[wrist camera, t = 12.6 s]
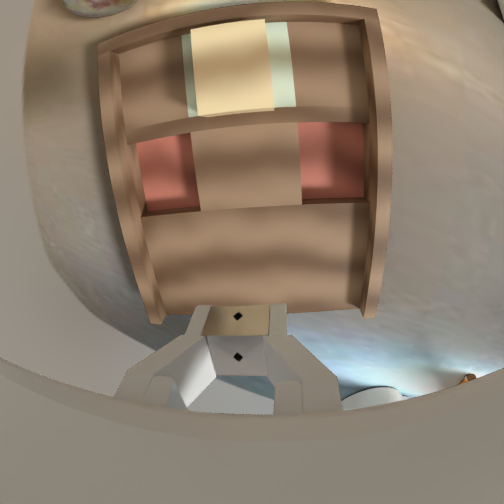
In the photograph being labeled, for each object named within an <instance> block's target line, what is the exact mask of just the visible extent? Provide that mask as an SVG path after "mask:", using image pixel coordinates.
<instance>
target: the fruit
mask: <svg viewBox="0 0 504 504" xmlns="http://www.w3.org/2000/svg"><path fill="white" fill-rule="evenodd" d="M136 1H137V0H63V2H64V4H65V6H66V7H67V9H69V10H70V11H72V12H73V13H75V14H76V15H79V16H83V17H104V16H110V15H114V14H117V13H120V12H122V11H125V10H127V9H129V8H131V7H132V6H133V5H134V4H135V3H136Z"/></svg>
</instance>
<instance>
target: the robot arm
mask: <svg viewBox="0 0 504 504" xmlns="http://www.w3.org/2000/svg"><path fill="white" fill-rule="evenodd" d="M216 375H242V376H267V377H268V379H269V380H270V382H271V383H272V385H273V386H274V388H275V397H274V414H273V415H250V414H248V415H247V414H224V413H211V412H199V411H190V410H188V409H187V407H188V406H189V405H190V404H191V403H192V402H193V401H194V400H195V399H196V398H197V397H198V395H199V394H200V393H201V392H202V391H203V390H204V389H205V388H206V387H207V386H208V385H209V384H210V383H211V382H212V381H213V380H214V379H215V378H216ZM0 504H504V368H502V369H500V370H497V371H495V372H492V373H490V374H487V375H485V376H482V377H480V378H477V379H474V380H471V381H469V382H466V383H463V384H460V385H457V386H454V387H451V388H447V389H444V390H441V391H437V392H434V393H430V394H426V395H422V396H418V397H414V398H410V399H408V397H406V396H402V395H401V394H400V393H399V391H397V390H396V389H394V388H389V387H379V388H372V389H368V390H364V391H361V392H358V393H356V394H353V395H351V396H349V397H347V398H345V399H344V400H342V401H341V398H340V392H339V386H338V380H337V376H335V375H334V374H333V373H332V372H331V371H330V370H329V369H328V368H327V367H326V366H325V365H323V364H322V363H321V362H320V361H319V360H318V359H317V358H316V357H315V356H314V355H313V354H312V353H311V352H309V351H308V350H307V349H306V348H305V347H304V346H303V345H302V344H301V343H300V342H299V341H298V340H297V339H296V338H295V337H294V336H292V335H287V311H286V303H275V304H264V305H198V306H197V307H196V308H195V311H194V313H193V315H192V318H191V320H190V323H189V325H188V327H187V330H186V332H185V335H180V336H178V337H177V338H175V339H174V340H172V341H171V342H169V343H168V344H166V345H165V346H163V347H162V348H160V349H159V350H157V351H156V352H154V353H153V354H151V355H150V356H148V357H147V358H145V359H144V360H142V361H141V362H139V363H138V364H136V365H135V366H133V367H132V368H130V369H129V370H128V371H127V372H126V374H125V376H124V378H123V380H122V382H121V384H120V386H119V388H118V389H117V391H116V394H115V396H114V397H111V396H107V395H103V394H99V393H95V392H91V391H88V390H84V389H81V388H78V387H75V386H71V385H68V384H65V383H62V382H59V381H56V380H53V379H51V378H48V377H45V376H42V375H40V374H37V373H35V372H32V371H30V370H27V369H25V368H23V367H20V366H18V365H16V364H13V363H11V362H9V361H7V360H5V359H3V358H1V357H0Z"/></svg>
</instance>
